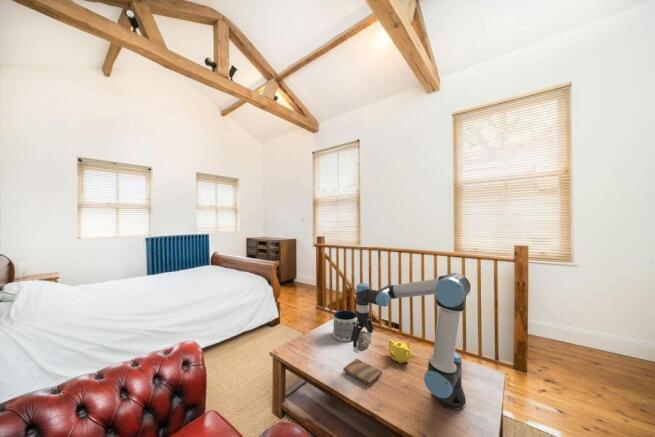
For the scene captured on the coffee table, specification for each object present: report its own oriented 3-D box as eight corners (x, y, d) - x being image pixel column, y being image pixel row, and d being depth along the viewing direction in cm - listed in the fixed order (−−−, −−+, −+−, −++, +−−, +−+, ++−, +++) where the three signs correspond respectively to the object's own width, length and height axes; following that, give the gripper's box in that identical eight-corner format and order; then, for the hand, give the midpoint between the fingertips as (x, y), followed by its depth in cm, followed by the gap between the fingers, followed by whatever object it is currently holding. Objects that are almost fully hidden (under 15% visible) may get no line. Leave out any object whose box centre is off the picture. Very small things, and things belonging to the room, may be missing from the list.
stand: (382, 376, 137) (382, 371, 137) (369, 388, 127) (369, 382, 127) (356, 363, 149) (356, 358, 149) (343, 373, 139) (343, 368, 139)
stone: (351, 355, 133) (351, 337, 133) (358, 342, 146) (358, 326, 146) (367, 358, 129) (366, 340, 129) (372, 345, 143) (372, 328, 143)
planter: (350, 344, 171) (350, 321, 171) (329, 337, 181) (329, 316, 181) (361, 334, 186) (361, 313, 186) (340, 328, 196) (340, 308, 196)
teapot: (399, 348, 166) (399, 332, 166) (421, 361, 151) (421, 343, 151) (378, 357, 155) (378, 340, 155) (400, 372, 140) (400, 353, 140)
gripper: (368, 303, 150) (368, 337, 150) (344, 315, 132) (344, 353, 131) (379, 306, 145) (379, 341, 145) (355, 319, 126) (355, 359, 126)
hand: (362, 347), depth 138 cm, fingers closed on stone, 13 cm apart
